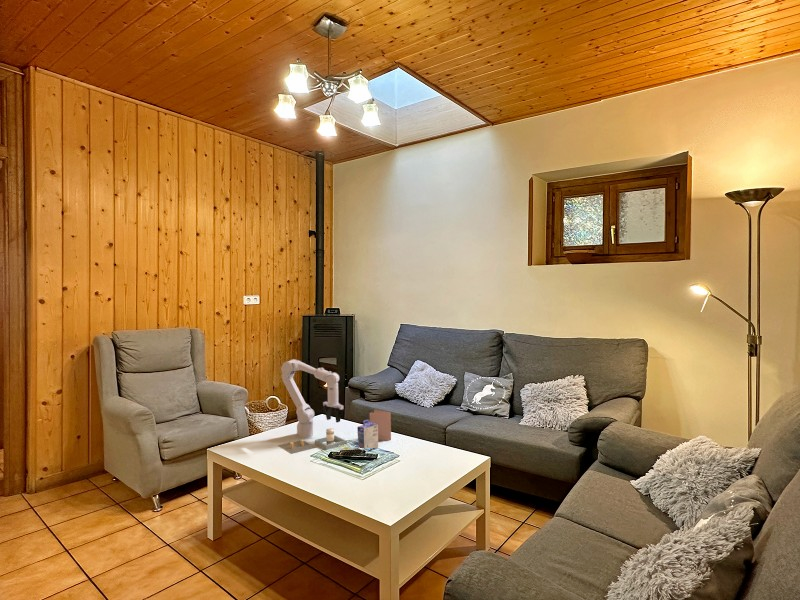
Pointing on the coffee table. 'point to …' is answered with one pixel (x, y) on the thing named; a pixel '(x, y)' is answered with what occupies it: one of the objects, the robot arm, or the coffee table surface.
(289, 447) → the flat gray square panel
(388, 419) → the greeting card
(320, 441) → the parts tray
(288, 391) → the robot arm
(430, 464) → the coffee table surface
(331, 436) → the led light bulb
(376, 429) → the ink cartridge box
